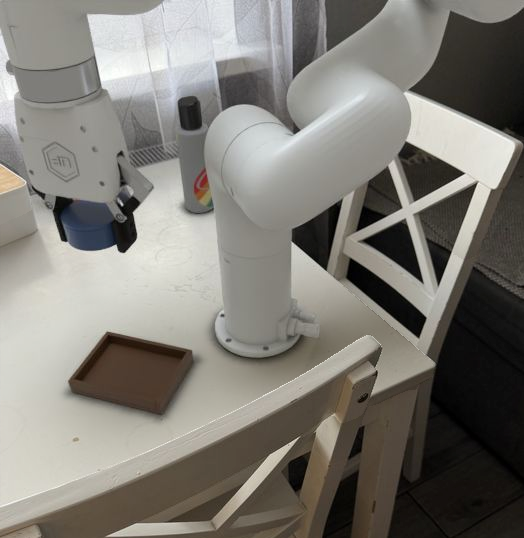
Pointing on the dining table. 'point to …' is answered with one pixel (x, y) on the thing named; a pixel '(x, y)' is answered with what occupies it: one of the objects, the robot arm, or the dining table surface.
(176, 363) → the tray
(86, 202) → the lid
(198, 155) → the lotion bottle
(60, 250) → the dining table surface
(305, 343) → the dining table surface
